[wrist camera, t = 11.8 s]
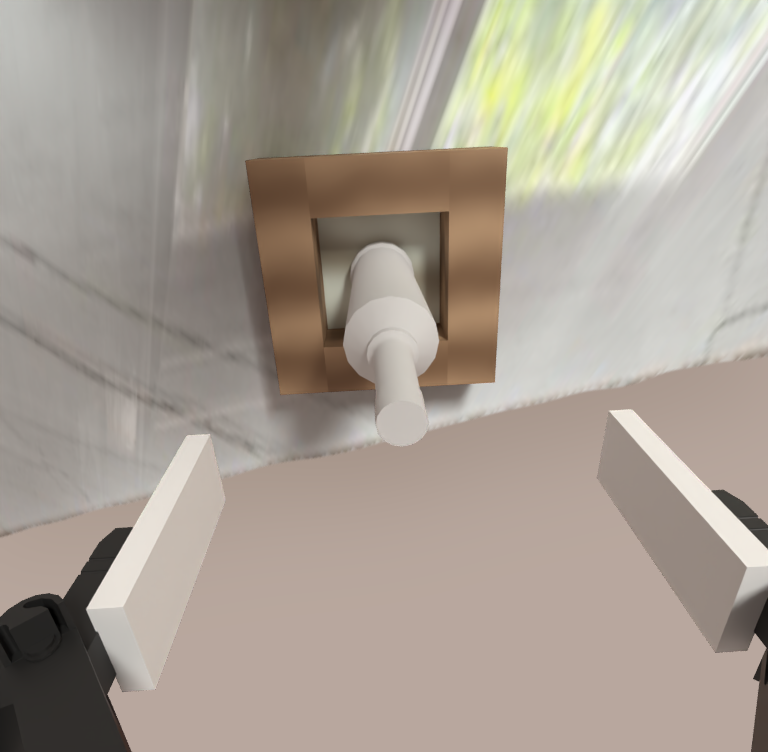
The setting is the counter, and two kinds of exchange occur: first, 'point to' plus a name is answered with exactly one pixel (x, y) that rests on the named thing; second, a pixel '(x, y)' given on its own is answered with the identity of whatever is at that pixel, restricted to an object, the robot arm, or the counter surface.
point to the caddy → (372, 224)
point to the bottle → (390, 339)
